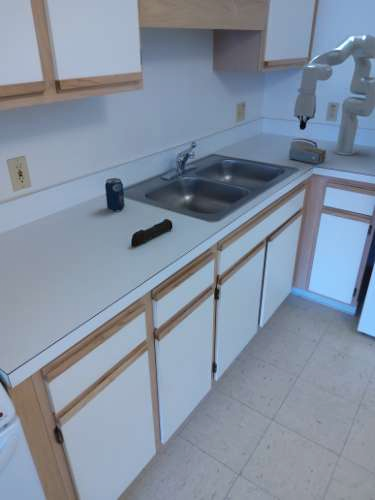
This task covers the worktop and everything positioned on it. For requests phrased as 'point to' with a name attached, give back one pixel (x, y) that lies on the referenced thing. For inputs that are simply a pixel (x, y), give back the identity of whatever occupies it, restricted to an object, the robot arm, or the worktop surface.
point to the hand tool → (150, 232)
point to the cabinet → (313, 150)
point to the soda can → (114, 194)
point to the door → (304, 156)
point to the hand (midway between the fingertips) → (302, 129)
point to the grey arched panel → (303, 143)
